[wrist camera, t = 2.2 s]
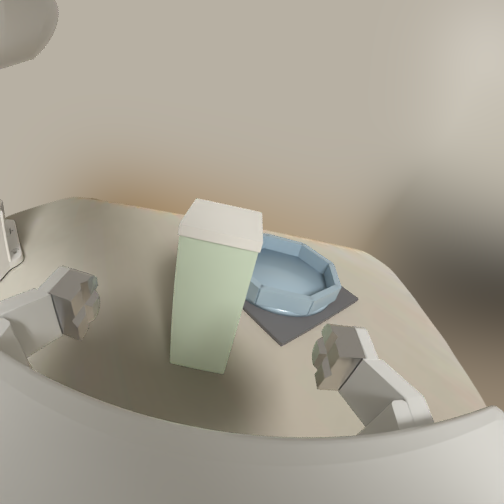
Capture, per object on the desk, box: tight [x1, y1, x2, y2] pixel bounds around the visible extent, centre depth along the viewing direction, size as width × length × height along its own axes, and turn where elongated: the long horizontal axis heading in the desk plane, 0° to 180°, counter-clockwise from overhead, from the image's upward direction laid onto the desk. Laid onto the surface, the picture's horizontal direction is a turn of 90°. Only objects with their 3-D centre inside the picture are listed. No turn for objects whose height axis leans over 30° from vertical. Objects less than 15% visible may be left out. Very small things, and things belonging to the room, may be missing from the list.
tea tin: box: [170, 198, 263, 374], centre depth 24 cm, size 6×6×15 cm
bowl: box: [245, 233, 341, 317], centre depth 42 cm, size 17×17×3 cm
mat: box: [243, 286, 358, 346], centre depth 43 cm, size 20×19×1 cm
